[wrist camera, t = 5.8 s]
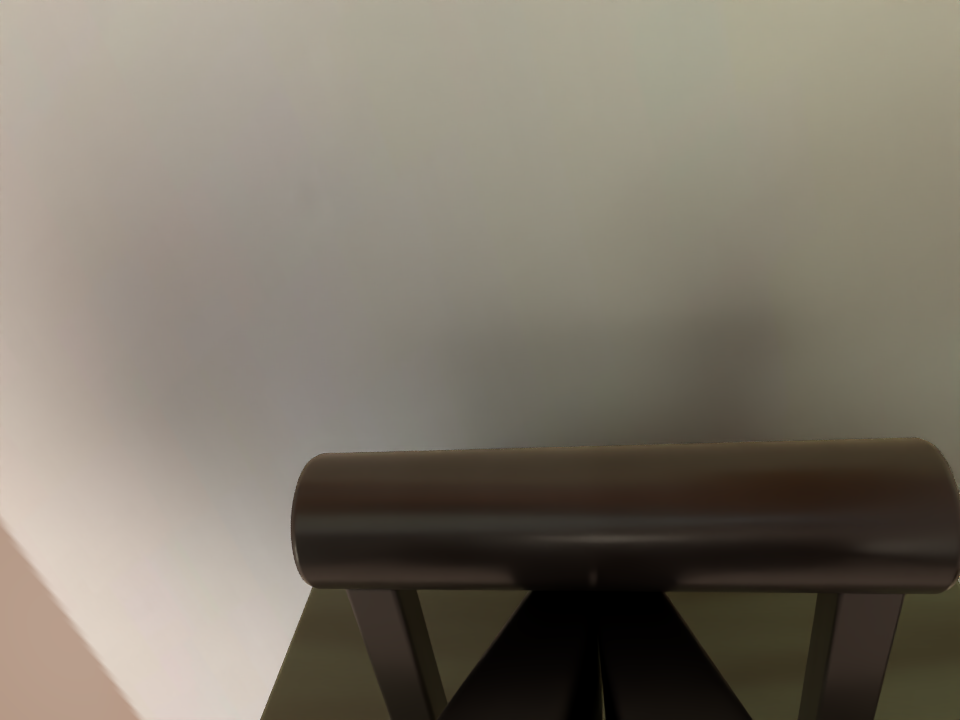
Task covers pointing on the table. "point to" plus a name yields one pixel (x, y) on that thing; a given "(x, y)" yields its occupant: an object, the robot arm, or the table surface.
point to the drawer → (634, 568)
